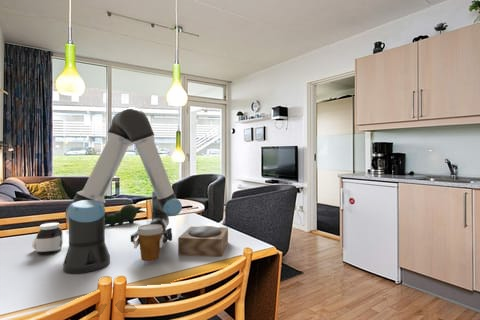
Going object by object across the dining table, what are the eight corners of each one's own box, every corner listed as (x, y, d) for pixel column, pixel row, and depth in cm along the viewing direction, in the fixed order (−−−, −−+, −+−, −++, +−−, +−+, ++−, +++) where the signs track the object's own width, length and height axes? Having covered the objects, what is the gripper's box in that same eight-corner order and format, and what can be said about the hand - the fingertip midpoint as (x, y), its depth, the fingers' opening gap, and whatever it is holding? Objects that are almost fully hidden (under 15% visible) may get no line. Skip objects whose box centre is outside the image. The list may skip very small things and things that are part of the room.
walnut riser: (178, 254, 112) (178, 235, 112) (190, 241, 130) (190, 224, 130) (221, 256, 110) (221, 236, 110) (227, 242, 128) (227, 225, 128)
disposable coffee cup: (168, 257, 105) (168, 225, 104) (148, 265, 96) (148, 231, 96) (151, 252, 110) (152, 222, 110) (131, 259, 102) (131, 227, 101)
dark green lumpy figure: (98, 231, 152) (144, 221, 165) (94, 198, 151) (141, 191, 164) (97, 227, 160) (141, 218, 173) (93, 196, 159) (138, 189, 172)
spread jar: (53, 255, 111) (53, 227, 111) (22, 257, 109) (22, 228, 109) (67, 246, 123) (67, 220, 122) (39, 247, 121) (39, 221, 121)
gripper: (181, 235, 122) (177, 253, 100) (132, 237, 119) (117, 255, 97) (181, 219, 122) (177, 232, 100) (132, 220, 119) (117, 234, 97)
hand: (148, 244), depth 98 cm, fingers closed on disposable coffee cup, 8 cm apart
